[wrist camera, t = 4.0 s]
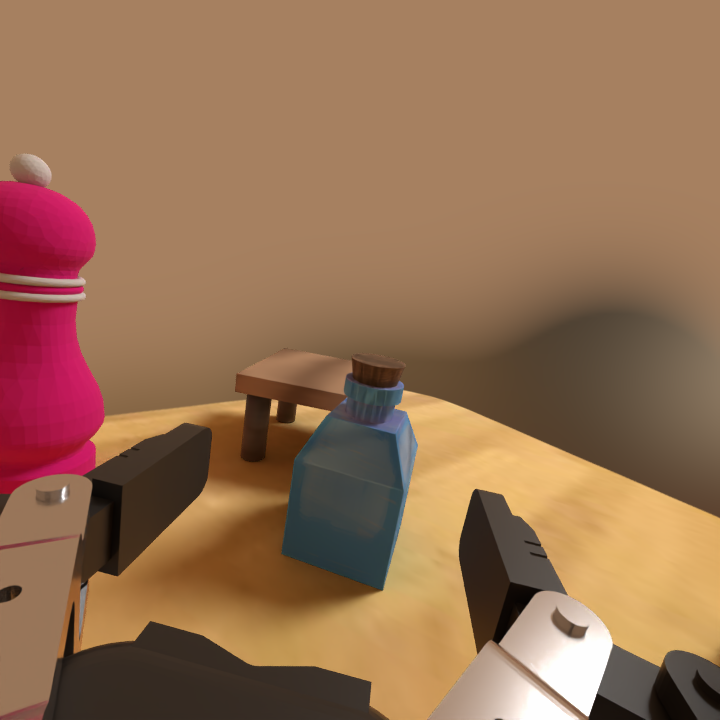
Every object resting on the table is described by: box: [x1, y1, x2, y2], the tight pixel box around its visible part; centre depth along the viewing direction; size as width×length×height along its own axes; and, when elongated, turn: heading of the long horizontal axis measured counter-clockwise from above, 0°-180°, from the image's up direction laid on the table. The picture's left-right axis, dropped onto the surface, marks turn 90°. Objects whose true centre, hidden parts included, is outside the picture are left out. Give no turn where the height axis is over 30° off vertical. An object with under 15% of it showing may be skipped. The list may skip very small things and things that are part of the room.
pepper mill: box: [0, 154, 105, 494], centre depth 23 cm, size 7×7×20 cm
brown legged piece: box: [235, 348, 352, 462], centre depth 36 cm, size 12×12×8 cm
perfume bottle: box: [281, 353, 418, 591], centre depth 23 cm, size 6×6×12 cm
